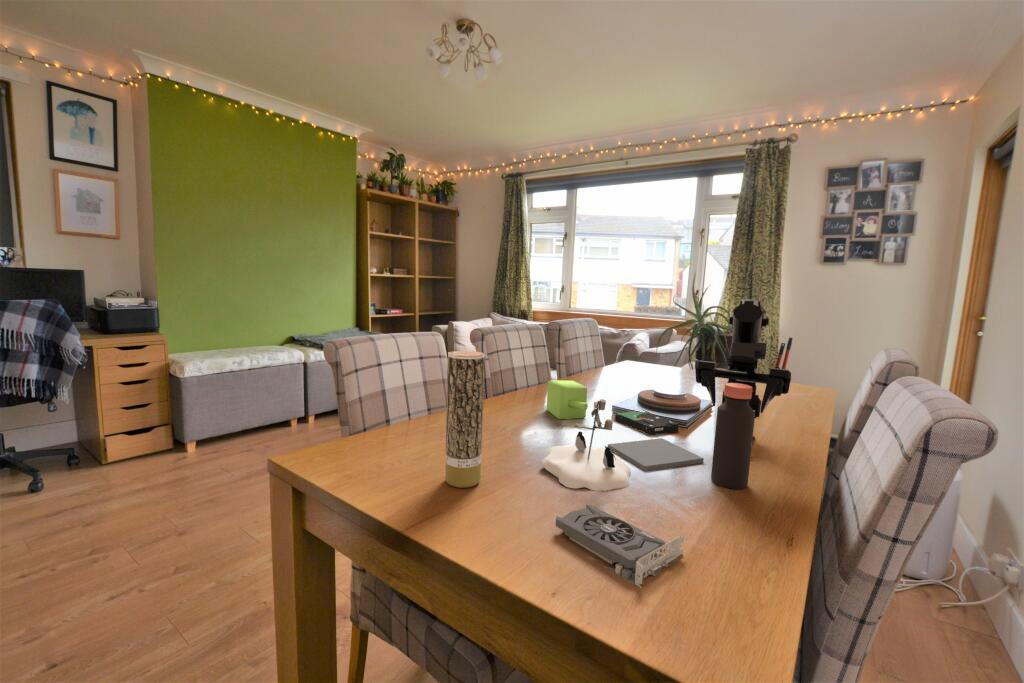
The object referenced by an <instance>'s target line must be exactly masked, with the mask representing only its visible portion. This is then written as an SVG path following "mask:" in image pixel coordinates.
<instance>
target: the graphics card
mask: <svg viewBox="0 0 1024 683" xmlns="http://www.w3.org/2000/svg"><path fill="white" fill-rule="evenodd" d="M555 527H557V528H558V529H559V530H562V531H563V532H564V535H566V536H567V537H569V538H568V539H569V540H571V541H572V542H574V543H576V544H577V545H579V546H580V547H582V548H584V549H586V550H587V551H588V552H590V553H591V554H594V555H595V556H597V557H599V558H600V559H602V560H604V561H606V562H607V563H609V564H611V565H614V564H615V567H611V566H605V565H602V567H604V568H605V569H606V570H608V571H610V573H612V574H615V576H617V577H619V578H621V579H623V580H624V581H625V582H628V584H634V586H637V587H639V588H640V589H642V588H643V587H642V586H641V585H643V579H644V578H647V577H648V576H651V575H652V576H653V577H655V576H657V575H659V574H660V573H661V569H662V568H663V567H664V568H665V567H666V568H669V567H670V566H672V565H674V564H675V563H677V559H678V557H680V556H681V555H683V551H684V547H681V546H682V544H683V543H684V540H685V539H684V538H685V536H681V535H679V536H677V537H675V538H673V539H672V540H669V541H667V543H666V541H665V540H663V539H662V538H659V537H658V536H656V535H653V534H651V533H649V532H647V531H645V530H643V529H640V528H639V527H637V526H634V525H633V524H630V523H629V522H626V521H625V520H622V519H621V518H619V517H616V516H614V515H613V514H611V513H608V512H606V511H604V510H602V509H600V508H598V507H596V506H594V505H592V504H586V506H585V508H582V509H581V508H580V509H576V510H572V511H570V512H569V513H567V514H565V515H564V516H562V517H561V516H558V515H556V517H555ZM667 551H668V552H667ZM663 554H664V555H663Z"/></svg>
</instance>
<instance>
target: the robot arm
mask: <svg viewBox="0 0 1024 683" xmlns="http://www.w3.org/2000/svg"><path fill="white" fill-rule="evenodd" d="M728 319H729V322H728V325H729V327H732V335H731V336H732V338H731V343H730V344H731V345H730V349H729V350H730V352H729V353H728V358H727V368H721V367H716V361H706V360H699V361H697V362H696V363H695V383H697V384H699V385H700V384H701V387H704V388H706V390H707V392H708V394H709V398H710V400H711V404H712V407H716V401H717V399H716V394H717V393H716V378H718V379H719V378H721V379H728V380H727V382H726V383H740V384H745V385H749V386H751V387H752V397H751V401H749V406H750V407H751V408H752V409H753V410H754V412H755V419H757V418H760V416H761V415H760V414H763V413H764V412H765V410H766V409H767V407H768V405H769V404H770V403H771V401H772V400H773V399H774V398H775V397H781V396H782V395H786V394H789V390H790V386H791V381H792V372H791V371H790V370H789V369H787V368H786V369H785V368H777V367H770V369H769V374H766V373H760V372H758V373H757V370H758V368H757V367H758V361H759V360H765V359H766V354H767V345H768V344H767V343H766V342H760V338H761V336H762V331H765V329H766V328H767V326H768V325H769V322H770V318H768V316H767V311H766V310H765V309H764V307H762V306H761V300H760V299H755V298H753V299H752V298H743V299H740V302H739V305H738V306H736V307H735V308H734V309H733V311H732V312H730V314H729V318H728ZM756 384H764V385H765V384H766V385H765V389H764V392H763V396H762V400H761V399H760V395H759V394H757V385H756ZM721 396H722V398H721V404H723V403H724V402H725V397H724V396H725V395H724V390H723V391H722V395H721ZM755 439H756V437H755V436H754V435H753V440H755Z"/></svg>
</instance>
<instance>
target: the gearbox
mask: <svg viewBox="0 0 1024 683" xmlns="http://www.w3.org/2000/svg"><path fill="white" fill-rule="evenodd" d="M546 393H547V394H546V410H547V411H548V412H549V413H551V415H553V416H554V417H556V418H557V419H559V420H569V419H581V418H586V416H587V415H586V414H587V413H586V412H587V409H588V407H589V406H588V404H589V403H587V399H588V388H587V387H586V386H584V385H583V384H581V383H579V382H576V381H575V380H559V379H558V380H548V381H547V392H546Z"/></svg>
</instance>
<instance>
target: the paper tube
mask: <svg viewBox="0 0 1024 683" xmlns="http://www.w3.org/2000/svg"><path fill="white" fill-rule="evenodd" d="M447 354H448V355H447V377H446V421H445V422H446V426H445V474H444V475H445V477H444V479H445V482H446V484H448V485H449V486H451V487H454V488H459V489H460V488H462V489H465V488H466V489H467V488H473V487H474V486H476V485H478V484H479V482H480V481H481V477H482V452H483V450H482V449H483V448H482V447H483V446H482V444H483V418H484V414H483V411H484V384H485V383H484V381H485V380H484V379H485V353H484V352H481V351H474V350H455V351H454V350H453V351H449V352H447Z"/></svg>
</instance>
